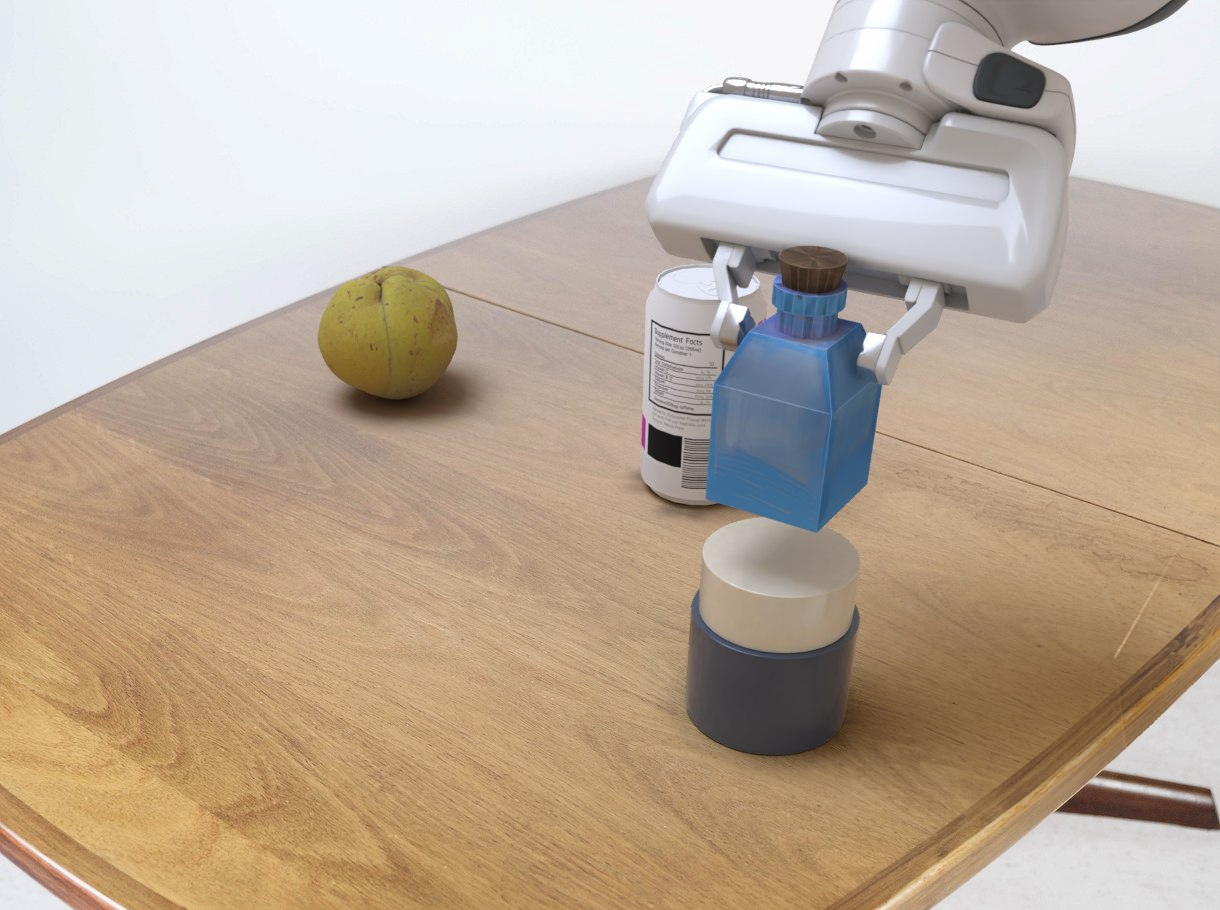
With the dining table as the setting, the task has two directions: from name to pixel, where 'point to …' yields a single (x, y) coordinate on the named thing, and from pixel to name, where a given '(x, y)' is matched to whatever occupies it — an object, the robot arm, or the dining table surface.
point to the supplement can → (683, 378)
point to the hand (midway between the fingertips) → (798, 362)
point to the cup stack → (772, 636)
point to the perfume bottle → (795, 402)
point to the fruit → (389, 332)
